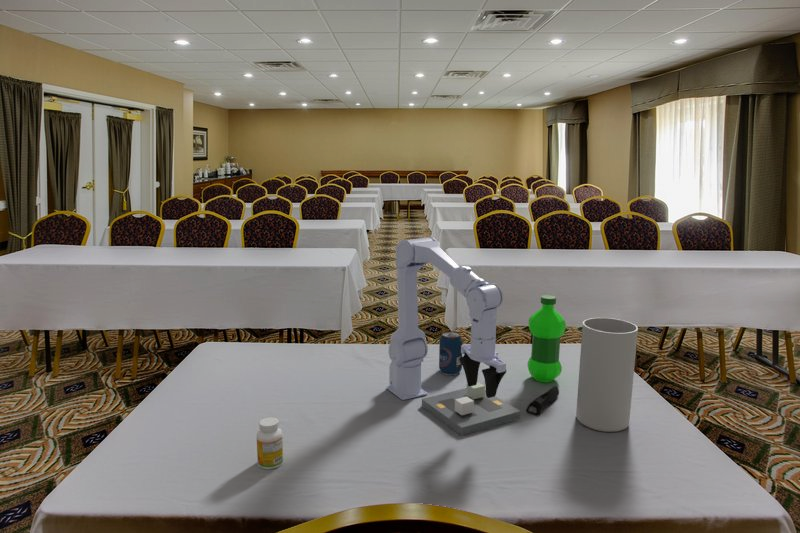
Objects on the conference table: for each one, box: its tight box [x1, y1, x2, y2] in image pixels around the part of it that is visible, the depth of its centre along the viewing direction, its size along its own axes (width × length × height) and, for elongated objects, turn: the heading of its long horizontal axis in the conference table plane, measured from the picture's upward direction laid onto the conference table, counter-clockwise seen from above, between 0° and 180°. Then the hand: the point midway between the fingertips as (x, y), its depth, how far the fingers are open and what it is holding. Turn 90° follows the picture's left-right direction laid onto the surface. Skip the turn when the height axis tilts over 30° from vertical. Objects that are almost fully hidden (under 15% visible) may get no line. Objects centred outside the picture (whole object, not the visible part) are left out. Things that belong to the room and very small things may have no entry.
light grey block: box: [455, 397, 474, 415], centre depth 141 cm, size 3×4×3 cm
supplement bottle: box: [256, 417, 284, 470], centre depth 121 cm, size 5×5×10 cm
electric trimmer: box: [525, 385, 560, 416], centre depth 151 cm, size 4×16×3 cm, turn 142°
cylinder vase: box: [575, 317, 639, 433], centre depth 139 cm, size 12×12×25 cm
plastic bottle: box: [527, 294, 567, 383], centre depth 165 cm, size 10×10×25 cm
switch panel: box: [421, 387, 521, 436], centre depth 146 cm, size 18×18×2 cm
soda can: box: [438, 330, 463, 376], centre depth 172 cm, size 7×7×12 cm
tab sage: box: [466, 381, 486, 399], centre depth 150 cm, size 3×4×3 cm
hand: (481, 390), depth 134 cm, fingers open, 7 cm apart
